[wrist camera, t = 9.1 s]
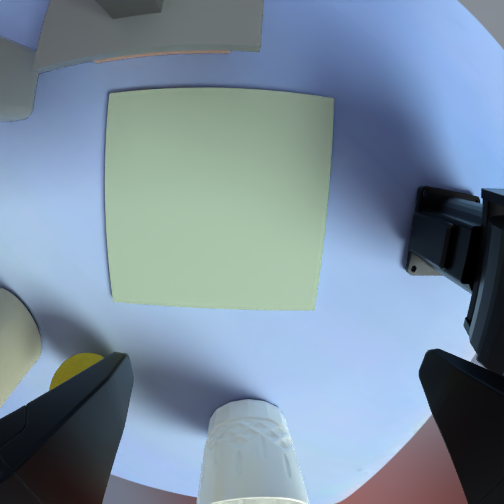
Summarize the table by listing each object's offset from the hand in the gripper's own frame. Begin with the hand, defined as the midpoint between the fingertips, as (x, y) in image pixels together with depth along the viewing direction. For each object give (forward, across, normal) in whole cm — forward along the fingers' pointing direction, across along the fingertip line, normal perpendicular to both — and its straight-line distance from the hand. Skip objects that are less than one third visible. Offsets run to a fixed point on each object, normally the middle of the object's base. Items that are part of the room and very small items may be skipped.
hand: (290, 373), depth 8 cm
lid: (+8, +7, -17) cm, 20 cm away
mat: (+12, +3, -3) cm, 13 cm away
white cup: (+12, 0, +16) cm, 20 cm away
